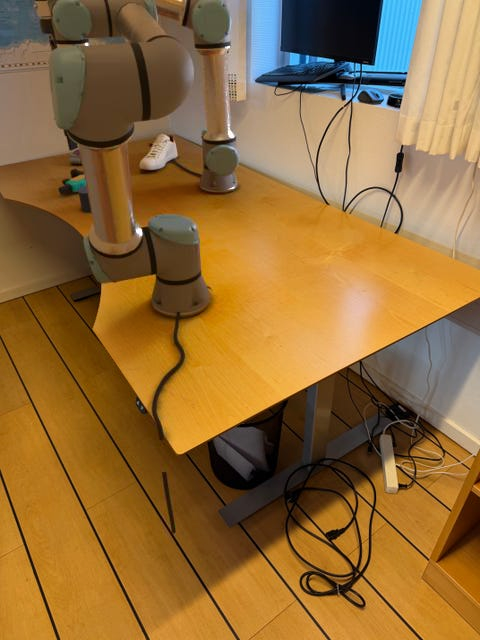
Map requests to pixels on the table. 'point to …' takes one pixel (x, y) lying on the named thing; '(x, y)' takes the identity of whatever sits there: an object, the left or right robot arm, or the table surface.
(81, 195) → the cylinder
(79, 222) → the table surface
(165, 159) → the sneaker
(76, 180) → the toy gun
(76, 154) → the toy gun
